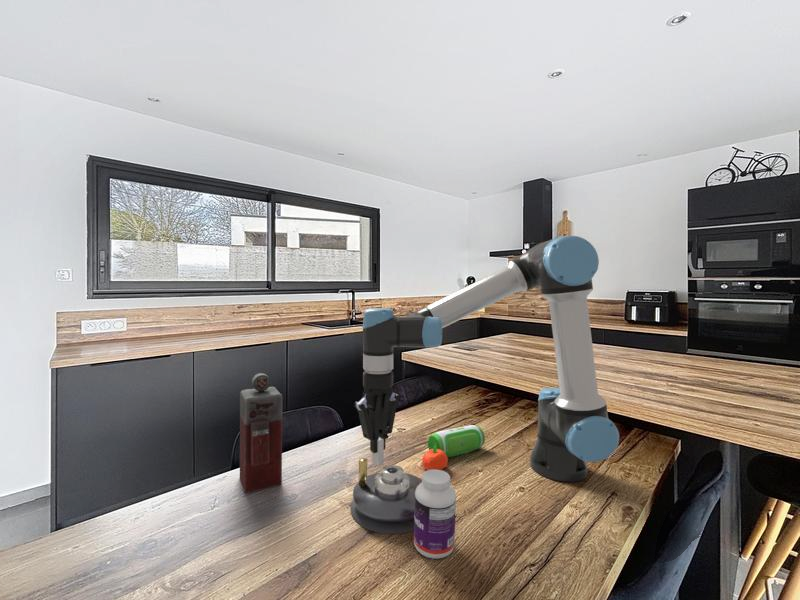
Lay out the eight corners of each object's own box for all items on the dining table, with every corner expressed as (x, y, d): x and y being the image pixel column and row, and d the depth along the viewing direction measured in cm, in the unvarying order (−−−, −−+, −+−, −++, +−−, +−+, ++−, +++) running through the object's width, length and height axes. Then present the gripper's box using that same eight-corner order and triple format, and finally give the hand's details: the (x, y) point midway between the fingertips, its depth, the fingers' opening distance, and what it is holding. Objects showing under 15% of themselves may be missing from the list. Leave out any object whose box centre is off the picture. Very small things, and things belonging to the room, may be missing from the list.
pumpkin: (419, 475, 104) (417, 452, 104) (427, 462, 111) (425, 441, 111) (444, 477, 101) (442, 453, 101) (451, 464, 109) (449, 442, 109)
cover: (382, 479, 92) (382, 459, 92) (413, 486, 90) (414, 465, 90) (368, 497, 85) (369, 474, 85) (402, 504, 82) (403, 481, 82)
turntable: (372, 473, 100) (373, 443, 99) (439, 486, 94) (440, 455, 93) (338, 512, 82) (339, 476, 82) (417, 532, 76) (418, 493, 76)
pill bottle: (411, 534, 79) (413, 466, 78) (449, 532, 79) (451, 465, 79) (416, 562, 70) (418, 487, 70) (458, 561, 71) (460, 486, 70)
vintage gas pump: (246, 498, 90) (246, 382, 89) (239, 476, 100) (239, 372, 99) (284, 488, 95) (285, 378, 93) (274, 469, 104) (275, 368, 103)
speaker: (440, 463, 110) (440, 438, 110) (426, 453, 116) (426, 429, 116) (485, 451, 119) (486, 428, 118) (470, 443, 125) (471, 420, 125)
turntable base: (438, 491, 95) (438, 485, 95) (425, 541, 76) (425, 534, 76) (366, 480, 99) (366, 475, 99) (337, 525, 81) (337, 518, 81)
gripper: (388, 364, 101) (388, 451, 102) (347, 371, 92) (347, 466, 93) (407, 369, 95) (407, 461, 96) (365, 377, 87) (365, 478, 88)
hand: (377, 463), depth 95 cm, fingers closed
